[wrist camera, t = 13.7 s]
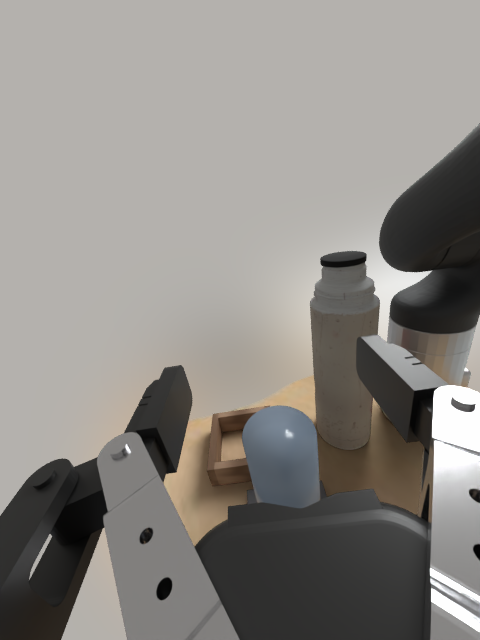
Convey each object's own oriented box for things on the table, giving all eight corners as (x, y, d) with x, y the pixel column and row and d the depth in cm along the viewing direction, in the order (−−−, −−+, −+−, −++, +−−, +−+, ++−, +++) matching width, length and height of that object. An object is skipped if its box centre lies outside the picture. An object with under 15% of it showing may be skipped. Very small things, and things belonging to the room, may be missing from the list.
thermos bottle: (367, 412, 41) (378, 243, 30) (373, 455, 34) (390, 258, 23) (318, 406, 44) (310, 250, 33) (314, 444, 37) (303, 266, 26)
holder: (272, 420, 43) (269, 405, 41) (282, 476, 34) (279, 460, 32) (217, 428, 43) (212, 414, 42) (212, 486, 34) (206, 470, 33)
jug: (306, 474, 33) (298, 382, 26) (331, 566, 24) (328, 463, 18) (260, 481, 33) (240, 391, 27) (269, 573, 25) (243, 474, 18)
